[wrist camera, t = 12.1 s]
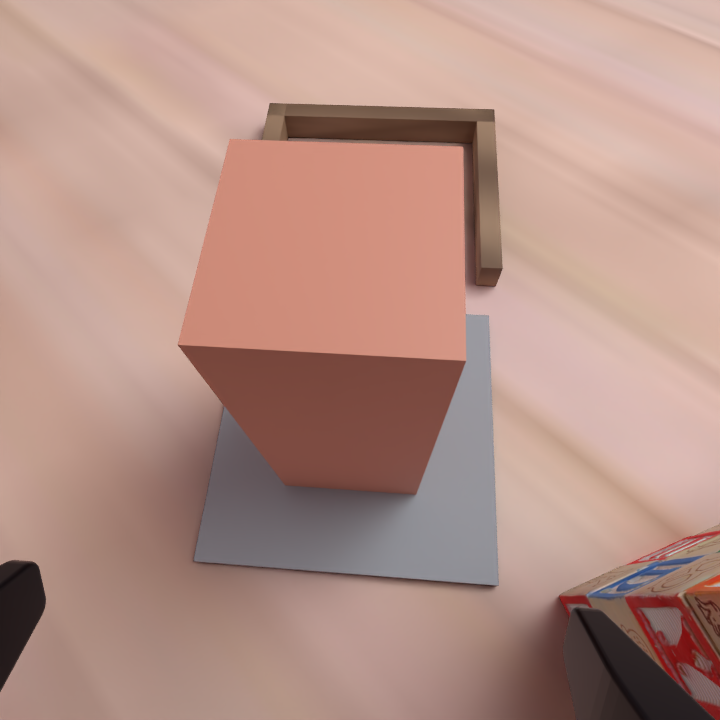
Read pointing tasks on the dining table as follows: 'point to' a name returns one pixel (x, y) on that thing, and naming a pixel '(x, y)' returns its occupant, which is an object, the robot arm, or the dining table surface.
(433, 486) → the slate-grey mat
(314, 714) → the dining table surface
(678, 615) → the stack of blocks
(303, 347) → the salmon-pink block
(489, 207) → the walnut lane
